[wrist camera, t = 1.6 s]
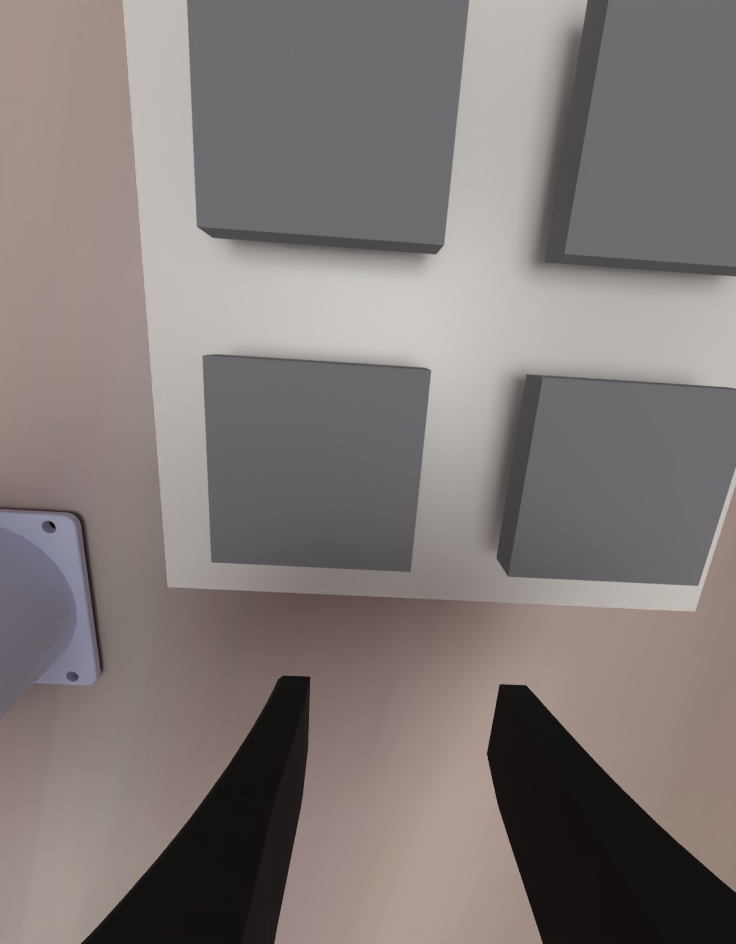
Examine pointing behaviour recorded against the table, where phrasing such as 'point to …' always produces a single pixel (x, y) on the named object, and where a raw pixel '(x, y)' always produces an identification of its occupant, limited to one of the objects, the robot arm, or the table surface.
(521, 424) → the button
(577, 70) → the button
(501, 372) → the button board
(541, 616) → the table surface
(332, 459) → the button
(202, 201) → the button
